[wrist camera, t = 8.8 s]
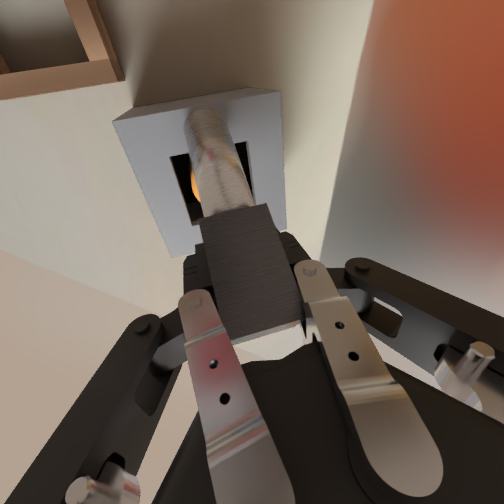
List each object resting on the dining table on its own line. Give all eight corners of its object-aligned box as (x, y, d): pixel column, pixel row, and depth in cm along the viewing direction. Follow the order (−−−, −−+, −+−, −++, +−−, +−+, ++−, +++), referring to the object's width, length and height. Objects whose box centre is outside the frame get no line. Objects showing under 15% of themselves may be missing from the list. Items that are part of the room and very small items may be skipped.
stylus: (173, 109, 13) (225, 342, 8) (228, 99, 13) (308, 317, 8) (186, 153, 15) (231, 345, 11) (232, 144, 16) (293, 326, 11)
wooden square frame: (-113, -90, 12) (-180, -128, 10) (58, -102, 13) (32, -140, 11) (8, 99, 18) (-18, 102, 15) (125, 80, 19) (117, 81, 16)
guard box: (132, 107, 20) (111, 121, 13) (249, 87, 21) (280, 91, 15) (172, 214, 26) (171, 258, 19) (261, 193, 27) (286, 228, 21)
